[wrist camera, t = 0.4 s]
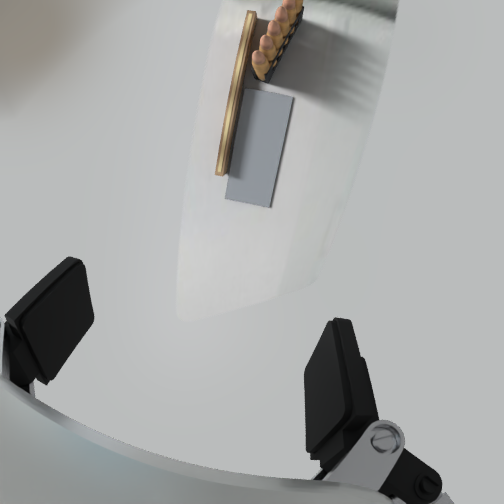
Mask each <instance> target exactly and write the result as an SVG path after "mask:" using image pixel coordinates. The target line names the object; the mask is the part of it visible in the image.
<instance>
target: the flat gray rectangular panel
mask: <svg viewBox="0 0 504 504" xmlns="http://www.w3.org/2000/svg"><path fill="white" fill-rule="evenodd" d="M292 99H293V97H291V96H287V95H282V94H277V93H272V92H266V91H261V90H255V89H249V88H245V90H244V95H243V100H242V105H241V110H240V116H239V121H238V126H237V132H236V137H235V143H234V148H233V154H232V159H231V165H230V171H229V177H228V183H227V189H226V195H225V199H229V200H234V201H239V202H244V203H249V204H254V205H259V206H263V207H268V208H269V206H270V202H271V197H272V193H273V188H274V183H275V179H276V174H277V170H278V165H279V160H280V156H281V151H282V146H283V142H284V137H285V132H286V128H287V123H288V118H289V114H290V109H291V104H292Z"/></svg>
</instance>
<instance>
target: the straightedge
mask: <svg viewBox="0 0 504 504" xmlns="http://www.w3.org/2000/svg"><path fill="white" fill-rule="evenodd" d="M256 22H257V14H256V11H249V10H247V14H246V18H245V23H244V27H243V31H242V35H241V40H240V44H239V48H238V53H237V57H236V62H235V67H234V72H233V76H232V81H231V86H230V91H229V96H228V102H227V107H226V112H225V118H224V123H223V129H222V135H221V140H220V146H219V152H218V159H217V165H216V171H215V175H218V176H224V175H225V174H226V173H227V167H228V161H229V155H230V149H231V144H232V138H233V132H234V127H235V122H236V116H237V111H238V106H239V101H240V96H241V91H242V86H243V81H244V76H245V71H246V66H247V62H248V57H249V52H250V48H251V43H252V39H253V35H254V30H255V26H256Z"/></svg>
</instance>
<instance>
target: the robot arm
mask: <svg viewBox="0 0 504 504" xmlns="http://www.w3.org/2000/svg"><path fill="white" fill-rule="evenodd" d="M5 317H6V320H7V321H6V322H5V323H4V321H3V319H2V318H1V317H0V504H454V503H453V501H452V500H451V499H450V497H449V496H448V495H447V493H446V492H445V493H443V494H442V492H441V490H442V480H441V477H440V475H439V474H438V473H437V472H436V471H435V470H434V469H432V468H431V467H429V466H428V465H426V464H425V463H424V462H422V461H421V460H420V459H418V458H417V457H415V456H414V455H413V454H411V453H410V452H409V451H407V450H406V449H405V448H404V445H405V438H404V434H403V432H402V430H401V429H400V427H398V426H397V425H396V424H395V423H393V422H391V421H388V420H379V417H378V412H377V408H376V403H375V398H374V394H373V389H372V385H371V381H370V377H369V373H368V369H367V365H366V361H365V359H364V358H363V357H361V356H360V352H359V348H358V344H357V340H356V337H355V333H354V329H353V326H352V322H351V320H349V319H343V318H334V319H333V321H328V323H327V325H326V327H325V329H324V331H323V333H322V335H321V338H320V340H319V342H318V344H317V346H316V348H315V350H314V352H313V354H312V356H311V358H310V360H309V362H308V364H307V366H306V368H305V372H304V388H305V423H306V451H307V452H308V453H310V456H311V458H310V459H311V460H320V467H321V470H320V471H319V472H318V473H317V474H316V475H315V476H314V477H313V478H312V479H311V480H302V479H288V478H275V477H265V476H257V475H249V474H242V473H235V472H229V471H224V470H218V469H213V468H208V467H203V466H199V465H195V464H190V463H186V462H182V461H178V460H175V459H171V458H168V457H164V456H161V455H158V454H155V453H152V452H149V451H146V450H143V449H140V448H137V447H134V446H132V445H129V444H126V443H124V442H121V441H119V440H116V439H114V438H111V437H109V436H107V435H104V434H102V433H100V432H98V431H96V430H93V429H91V428H89V427H87V426H85V425H83V424H81V423H79V422H77V421H75V420H73V419H71V418H69V417H67V416H65V415H63V414H62V413H60V412H58V411H56V410H55V409H53V408H51V407H49V406H48V405H46V404H44V403H43V402H41V401H39V400H38V399H36V398H35V391H34V383H33V381H34V379H35V378H37V380H38V381H40V382H42V383H43V384H45V385H47V384H48V383H49V381H50V380H53V379H54V378H55V377H56V375H57V373H58V372H59V371H60V369H61V368H62V366H63V365H64V363H65V362H66V360H67V359H68V357H69V356H70V355H71V353H72V352H73V350H74V349H75V347H76V346H77V345H78V343H79V342H80V340H81V339H82V338H83V336H84V335H85V334H86V332H87V331H88V329H89V328H90V327H91V325H92V324H93V322H94V312H93V307H92V303H91V298H90V292H89V286H88V281H87V274H86V268H85V265H84V264H83V262H82V260H80V259H77V258H73V257H67V258H66V259H64V260H63V261H62V262H61V263H60V264H59V265H57V266H56V267H55V268H54V269H53V270H52V271H50V272H49V273H48V274H47V275H46V276H45V277H44V278H43V279H41V280H40V281H39V283H37V284H36V285H35V286H34V287H33V288H32V289H31V290H30V291H29V292H28V293H26V294H25V295H24V296H23V297H22V298H21V299H20V300H19V301H18V302H17V303H16V304H15V305H14V306H13V307H12V308H11V309H10V310H9V311H8V312H7V313H6V314H5Z"/></svg>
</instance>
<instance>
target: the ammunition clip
mask: <svg viewBox="0 0 504 504" xmlns="http://www.w3.org/2000/svg"><path fill="white" fill-rule="evenodd" d="M302 4H303V0H283V4H282V6H280V7H279V8H278V9H277V10H276V13H275V19H274V20H272V21H270V22H269V24H268V31H267V34H266V35H263V36H262V37H261V39H260V47H259V50H256V51H254V52H253V54H252V65H253V67H252V69H251V70H252V73H253V75H254V78H255V79H257V80H260V81H262V82H265V83H269V81H270V79H271V77H272V75H273V73H274V71H275V69H276V67H277V65H278V63H279V61H280V59H281V57H282V55H283V53H284V52H285V50H286V48H287V46H288V44H289V42H290V40H291V39H292V37H293V35H294V33H295V31H296V29H297V28H298V26H299V24H300V22H301V21H302V16H303V11H304V6H302Z"/></svg>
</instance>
